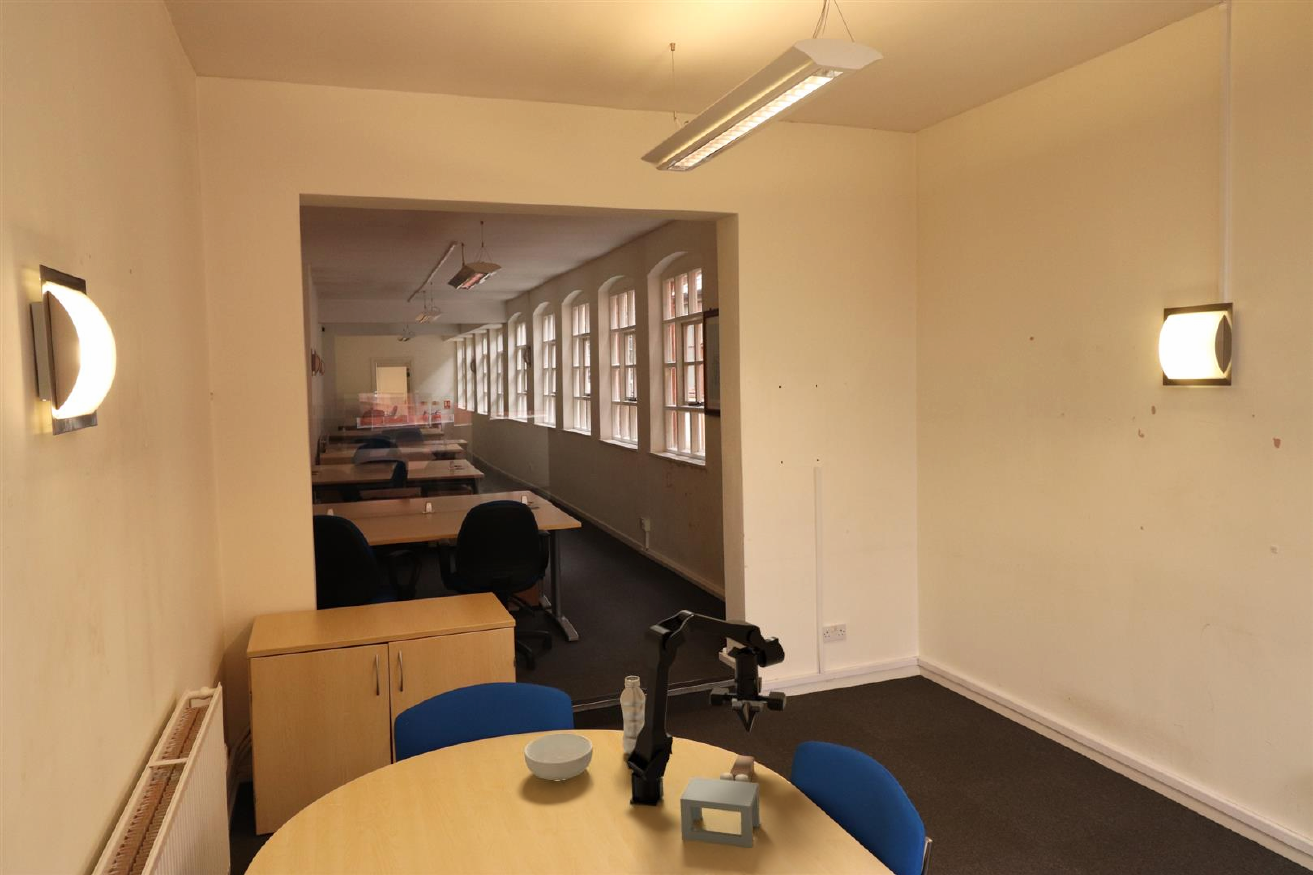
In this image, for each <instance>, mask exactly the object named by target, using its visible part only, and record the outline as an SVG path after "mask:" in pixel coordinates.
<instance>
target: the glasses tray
mask: <svg viewBox="0 0 1313 875" xmlns="http://www.w3.org/2000/svg"><path fill="white" fill-rule="evenodd" d="M754 773H755V757H754V756H749V755H736V759H735V760H734V763H733V764H732V768H731V769H730V772H723V773H721V774H720V775H719V779H721V780H730V781H740V782H750V783H754V782H751V780H752V777H753V775H754ZM750 779H751V780H750Z"/></svg>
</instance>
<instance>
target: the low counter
mask: <svg viewBox="0 0 1313 875" xmlns="http://www.w3.org/2000/svg"><path fill="white" fill-rule="evenodd" d="M750 782H751V781H750ZM750 782H740V781H730V780H721V779H720V778H710V777H702V776H701V777H699V776H691V777H690V779H689V782H688V783H687V785H686V787H685V788H684V791H683V793H682V795H681V796H680V798H679V801H680V803H679V804H680V822H681V823H680V825H681V826H680V827H681V840H687V841H695V842H704V843H709V844H711V843H712V844H719V845H727V846H734V847H741V848H742V847H744V848H749V849H750V848H752V846H753V844H754V830H753V828H759V826H760V824H761V823H760V822H761V821H760V791H759V789H760V788H759V786H760V785H759V783H757V782H753V783H750ZM703 809H711V810H718V811H727V812H738V813H740V828H741V831H740V832H741V833H740V834H738V833H730V832H729V833H728V832H722V831H721V832H720V831H714V830H713V831H712V830H705V829H697V828H694V823H693V822H694V821H697V822H698V821H699V822H700V821H701V819H702V818H703Z"/></svg>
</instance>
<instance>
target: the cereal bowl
mask: <svg viewBox="0 0 1313 875" xmlns="http://www.w3.org/2000/svg"><path fill="white" fill-rule="evenodd" d="M593 746H594V745H593V743H592V741H591V740H590V739H589V738H587V737H585V736H583V735H581V734H576V733H568V732H558V733H551V734H545V735H543V736H540V737H537V738H535V739H533V740H531V741H530V742H528V744H526V746H525V748H524V752H523V753H524V760H525V761H524V762H525V764H526V767H527V768H528V770H529V771H530V772H531V773H532V774H533V775H534V776H536V777H537V778H541V779H544V780H548V781H551V780H563V779H567V780H569V779H568V778H570V779H572V778H574V777H576V776H579V775H580V774H581V773H583V772H584V771H586V770H587V768H588V767H589V765H590V763H591V762H592V758H593V752H594V751H593V748H594V747H593ZM563 781H564V780H563Z"/></svg>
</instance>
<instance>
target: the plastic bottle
mask: <svg viewBox="0 0 1313 875" xmlns="http://www.w3.org/2000/svg"><path fill="white" fill-rule="evenodd" d="M640 686H641V683H640V677H639V676H635V675H629V676H626V677H625V678H624V687H625V688H624V689H623V691H622V692H621V695H620V698H619V701H620V705H621V706H620V707H621V711H622V718H623V736H622V749H623V750H624V752H625V754H628V755H630V754H631V753H632V751H633V750H634V748H635V745H636V741H637V736H638V734H639V732H640V731H641V729H642V728H643V726H644V721H645V709H646V695H645V692H643V690H642V689H641V687H640Z"/></svg>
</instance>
